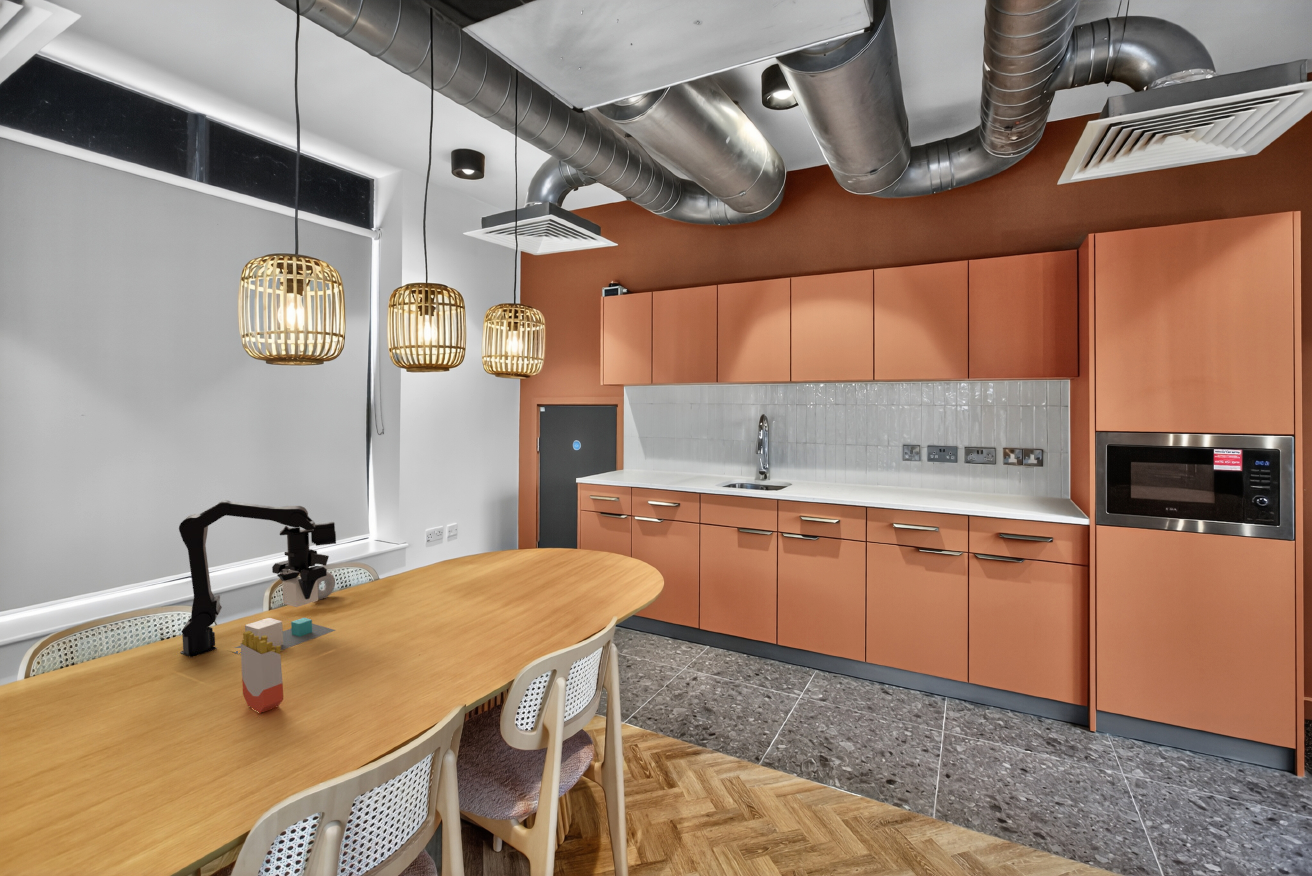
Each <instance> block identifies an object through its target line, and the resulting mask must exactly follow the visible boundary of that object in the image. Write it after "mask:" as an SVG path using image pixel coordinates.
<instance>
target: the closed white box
mask: <svg viewBox="0 0 1312 876" xmlns="http://www.w3.org/2000/svg"><path fill="white" fill-rule="evenodd" d="M298 579H301V577H300V576H298V577H297V578H293V579H289V580H285V581H282V580H281V582H282V603H283V604H284V605H286V606H291V607H294V608H298V607H302V606H305V605H308V604H311V603H314V602H317V601H319V600H318V587H317V581H316V582H315V584H314V586H313V589H312V592H311V595H310V598H309V599H305V597H304V595H303V592H302V590H301V587H300V584H299V581H298Z"/></svg>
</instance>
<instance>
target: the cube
mask: <svg viewBox="0 0 1312 876" xmlns="http://www.w3.org/2000/svg"><path fill="white" fill-rule="evenodd" d="M312 624H313V621H312V619H311V618H307V617H302V618H299V619H295V620H293V621H290V629H291V631H292V635H295V636H298V637H300V636H303V635H306V634H309V633H312Z"/></svg>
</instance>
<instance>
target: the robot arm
mask: <svg viewBox="0 0 1312 876" xmlns="http://www.w3.org/2000/svg"><path fill="white" fill-rule="evenodd" d="M226 516H227V517H228V516H229V517H236V518H238V517H239V518H244V519H245V518H247V519H255V520H264V521H265V520H266V521H270V522H275V523H278V524H281V525H282V526H283V525H285V526H284V528H283V529H282V530H281V531H280V532H279V535H280V536H286V544H287V551H284V556H287V560H283V561H280V562H276V563H274V564H273V565H272V567H271V569H272V573H273V574H276V576H277V577H278V578H279V579H280V581H281V582H282V581H285V580H289V579H293V578H297V577H301V579H298V581H299V584H300V587H301V590H302V592H303V595H304V597H305V599H309V598H310V595H311V592H312V589H313V586H314V584H315V582H316V581H317V580H318V579H319V578H321V577H324V576H327V572H328V569H327V568H326V566H327V564H328V560H329V557H330V556H329V555H328V554H327V555H326V554H320V553H318V550H314V549H313V548H312V549H310V539H311V544H313V545H315V546H326V545H337V533H336V532H337V531H336V527H335V525H336V524H335V522H334V521H331V522H330V521H329V522H327V523H315V521H314V520H313V519H312V518H311V517H310V516H309V512H308V510H307V508H305V507H304V506H301V505H285V506H283V505H282V506H269V505H262V504H261V505H260V504H254V503H253V504H252V503H246V502H244V503H243V502H237V501H230V500H227V499H225V500H221V501H219V502H218V503H217V504H215V505H213V506H212V507H210V508H208V509H206V510H204V511H203V512H201V513H198V514H197V513H193V514H190V515H188V516H186V518H185V519H184V520H182V521H181V522H180V523H179V527H178V531H179V533H180V537H181V539H182V542H183V544H184V545H185V547H186V549H187V551H188V552H187V553H188V561H189V568H190V575H191V583H192V584H191V585H192V592H193V601H192V606H191V607H192V608H191V612H190V613H191V614H190V615H191V617H190V618H189V619H188V620H187V621H186V623H185V625H184V626H183V627H182V629H181V633H182V635H181V636H182V651H180V654H181V655H184V656H186V657H189V656H190V657H189V658H194V657H193V656H195V657H197V655H198V656H200V655H203V654H207V653H209V652H212V650H213V651H214V650H215V649H216V650H217V649H218V648H217V646H216V634H215V633H216V632H215V631H213V630H214V629H213V627H211V626H212V625H213V624H214V623H215V622H216V620H217V618H218V616H219V614H220V613H221V610H222V608H223V606H222V605H221V601H220V599H221V595H220V594H218V595H216V596H215V595H214V593H213V591H212V586H211V579H210V571H209V563H208V555H207V554H208V553H207V547H206V545H207V544H206V543H207V538H208V530H209V526H210V525H212V524H213V523H216V522H217V521H218V520H220V519H221V518H223V517H226ZM310 533H311V534H310ZM309 534H310V535H311V536H310V535H309ZM319 565H321V566H319Z"/></svg>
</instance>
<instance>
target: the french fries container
mask: <svg viewBox="0 0 1312 876" xmlns="http://www.w3.org/2000/svg"><path fill="white" fill-rule="evenodd" d="M242 635H243V636H242V638H243V639H242V640H241V643H240V646H241V655H240V660H241V662H240V663H241V682H242V695H243V697H244V700H245V702H246V704H247V705H246V706H247V707H248V706H250V707H251V708H253V709H254V710H256V711H258V712H259V713H260V714H262V713H261V712H263V713H265V712H267V711H266V710H268V711H270V710H272V709H271V708H273V709H274V707H275V708H277V707H276V706H278V707H279V706H280V704H281V703H282V702H283V700H284V681H283V671H282V660H281V659H282V658H281V651H282V650H281V646H276V647H275V646H273V642H268V643H267V638H268V637H267V636H266V635H265V636H261V639H259V636H254V634H253V633H252V632H251V631H246V632H245V631H243V632H242ZM280 650H281V651H280ZM251 708H250V709H251ZM269 709H270V710H269ZM254 710H253V711H254ZM264 711H265V712H264Z"/></svg>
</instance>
